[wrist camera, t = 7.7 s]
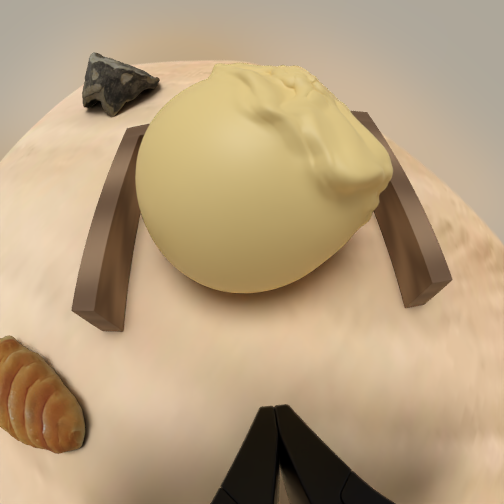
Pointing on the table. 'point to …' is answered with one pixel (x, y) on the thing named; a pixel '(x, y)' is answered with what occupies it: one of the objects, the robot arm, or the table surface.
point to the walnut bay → (128, 212)
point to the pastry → (37, 401)
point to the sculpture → (256, 177)
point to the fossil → (113, 83)
